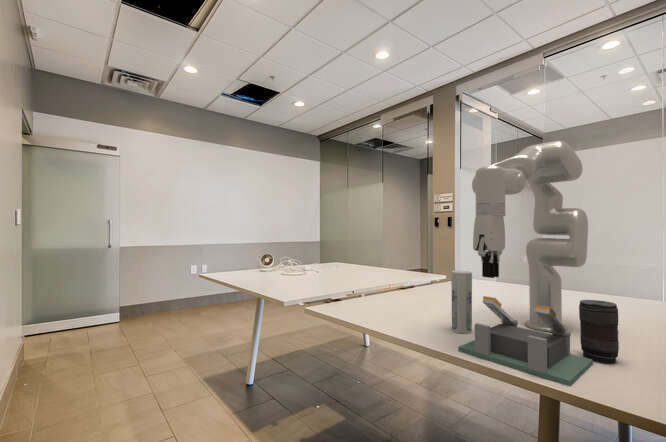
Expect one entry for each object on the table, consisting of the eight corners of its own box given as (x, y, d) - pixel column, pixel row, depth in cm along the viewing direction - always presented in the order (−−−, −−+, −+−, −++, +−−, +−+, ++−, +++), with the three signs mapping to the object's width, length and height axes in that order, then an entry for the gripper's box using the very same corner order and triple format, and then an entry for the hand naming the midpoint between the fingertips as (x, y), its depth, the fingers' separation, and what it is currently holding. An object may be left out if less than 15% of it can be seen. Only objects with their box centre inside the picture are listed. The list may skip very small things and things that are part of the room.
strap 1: (501, 320, 96) (503, 315, 97) (513, 323, 94) (514, 317, 95) (482, 302, 89) (483, 296, 90) (493, 304, 86) (495, 297, 87)
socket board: (489, 337, 102) (489, 310, 102) (592, 364, 82) (592, 330, 82) (458, 350, 90) (458, 320, 90) (569, 386, 70) (569, 346, 70)
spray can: (451, 327, 112) (451, 270, 113) (471, 329, 110) (471, 271, 111) (451, 332, 106) (451, 272, 107) (472, 335, 104) (472, 273, 105)
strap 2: (552, 331, 86) (553, 324, 87) (566, 334, 84) (567, 327, 85) (534, 311, 79) (535, 304, 79) (549, 314, 76) (550, 307, 77)
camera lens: (580, 350, 91) (579, 297, 92) (618, 358, 86) (617, 302, 86) (579, 359, 85) (578, 302, 85) (620, 367, 80) (619, 307, 80)
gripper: (489, 212, 97) (490, 273, 97) (462, 210, 88) (463, 277, 87) (516, 211, 92) (516, 276, 91) (490, 208, 82) (491, 281, 81)
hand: (490, 276), depth 89 cm, fingers closed
